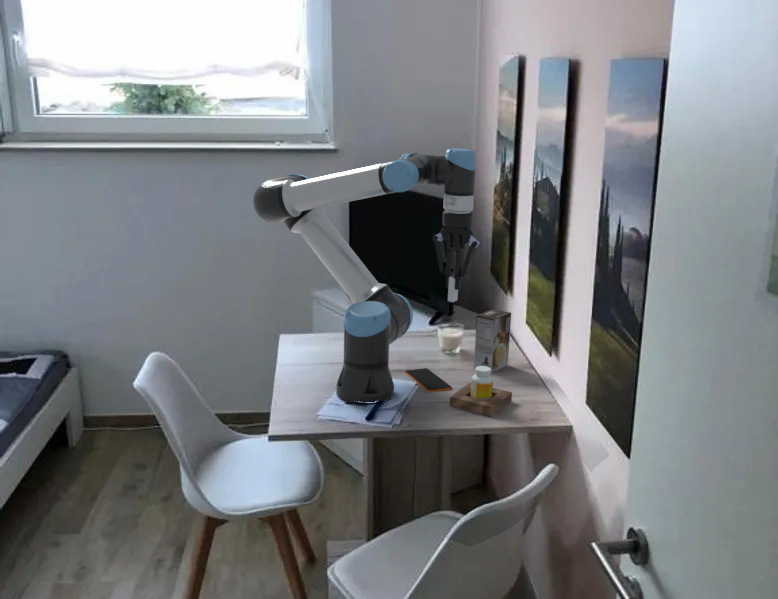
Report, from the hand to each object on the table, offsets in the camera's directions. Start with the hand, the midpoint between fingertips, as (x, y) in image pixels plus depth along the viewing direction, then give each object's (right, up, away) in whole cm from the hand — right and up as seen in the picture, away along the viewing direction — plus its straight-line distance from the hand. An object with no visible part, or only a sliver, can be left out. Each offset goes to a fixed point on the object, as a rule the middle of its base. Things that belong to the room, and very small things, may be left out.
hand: (452, 300), depth 220 cm
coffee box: (+13, -19, +24) cm, 33 cm away
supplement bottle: (+7, -27, -3) cm, 28 cm away
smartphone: (-6, -22, +12) cm, 26 cm away
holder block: (+7, -26, -3) cm, 28 cm away
